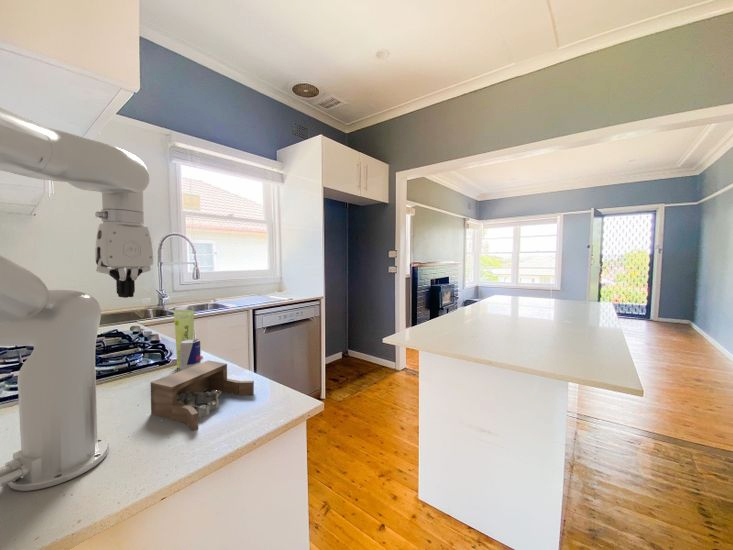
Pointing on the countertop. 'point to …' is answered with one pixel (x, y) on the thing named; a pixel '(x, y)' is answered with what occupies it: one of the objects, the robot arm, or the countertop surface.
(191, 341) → the energy drink
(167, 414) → the walnut garage
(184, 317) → the tube
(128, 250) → the robot arm
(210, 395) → the grey holed block
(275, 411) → the countertop surface
